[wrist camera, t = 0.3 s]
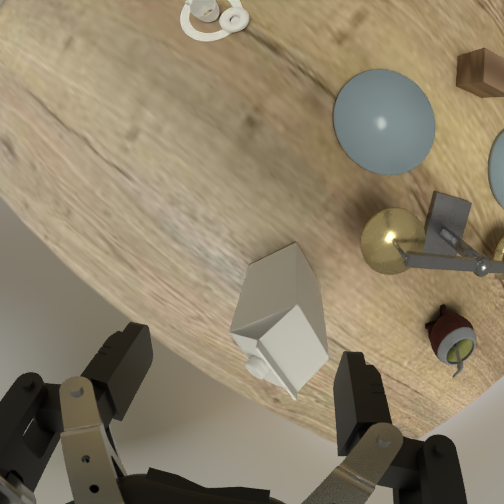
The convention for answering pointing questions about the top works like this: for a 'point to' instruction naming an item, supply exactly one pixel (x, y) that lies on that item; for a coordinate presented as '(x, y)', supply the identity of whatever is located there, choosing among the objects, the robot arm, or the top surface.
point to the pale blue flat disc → (384, 122)
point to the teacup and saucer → (213, 18)
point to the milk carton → (281, 320)
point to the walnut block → (481, 73)
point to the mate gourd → (451, 338)
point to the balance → (426, 240)
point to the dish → (497, 168)
